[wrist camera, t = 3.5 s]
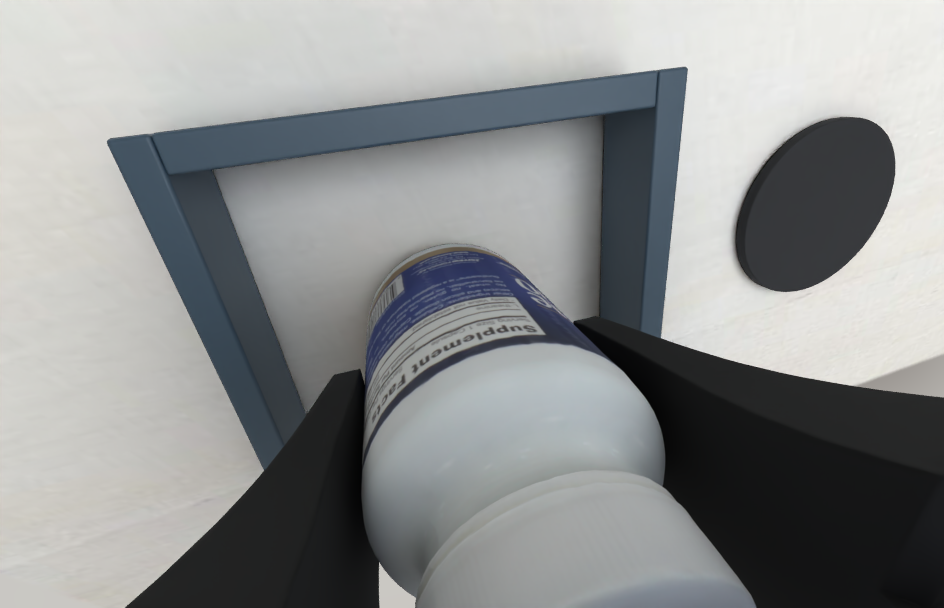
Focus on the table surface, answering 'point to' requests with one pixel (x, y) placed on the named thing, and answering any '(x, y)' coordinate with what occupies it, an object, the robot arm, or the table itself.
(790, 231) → the coaster
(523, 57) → the table surface
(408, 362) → the pill bottle
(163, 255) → the square picture frame
